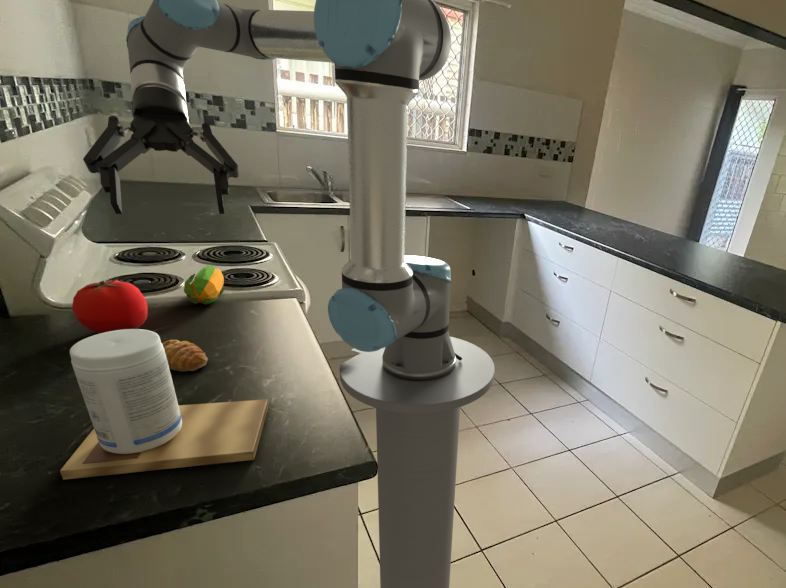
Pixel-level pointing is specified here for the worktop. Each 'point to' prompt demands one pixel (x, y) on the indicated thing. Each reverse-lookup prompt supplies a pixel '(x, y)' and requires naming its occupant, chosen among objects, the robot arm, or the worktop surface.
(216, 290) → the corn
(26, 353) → the worktop surface
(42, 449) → the worktop surface
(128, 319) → the tomato
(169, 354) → the pastry
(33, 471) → the worktop surface
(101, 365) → the supplement tub
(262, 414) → the cutting board
